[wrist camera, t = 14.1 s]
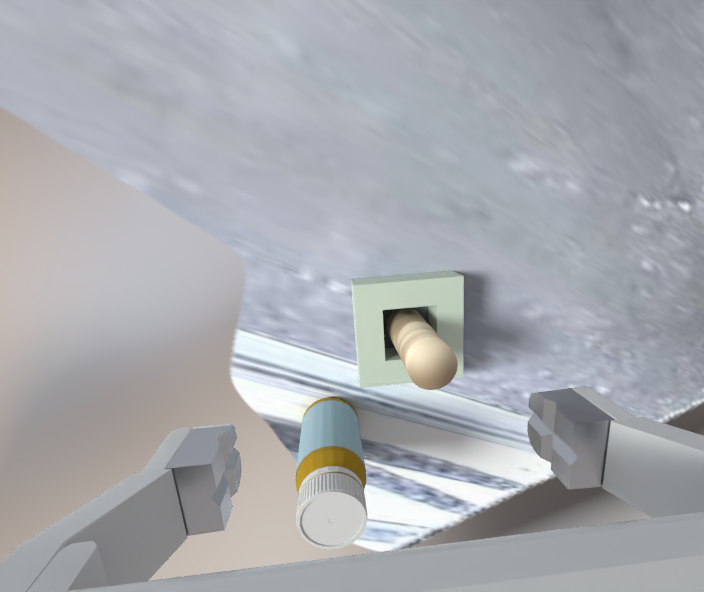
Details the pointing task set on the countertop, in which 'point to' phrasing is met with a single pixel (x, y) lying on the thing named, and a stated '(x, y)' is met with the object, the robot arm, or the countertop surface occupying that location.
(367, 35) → the countertop surface
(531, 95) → the countertop surface
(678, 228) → the countertop surface
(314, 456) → the bottle
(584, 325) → the countertop surface
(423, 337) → the peg
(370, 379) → the socket
